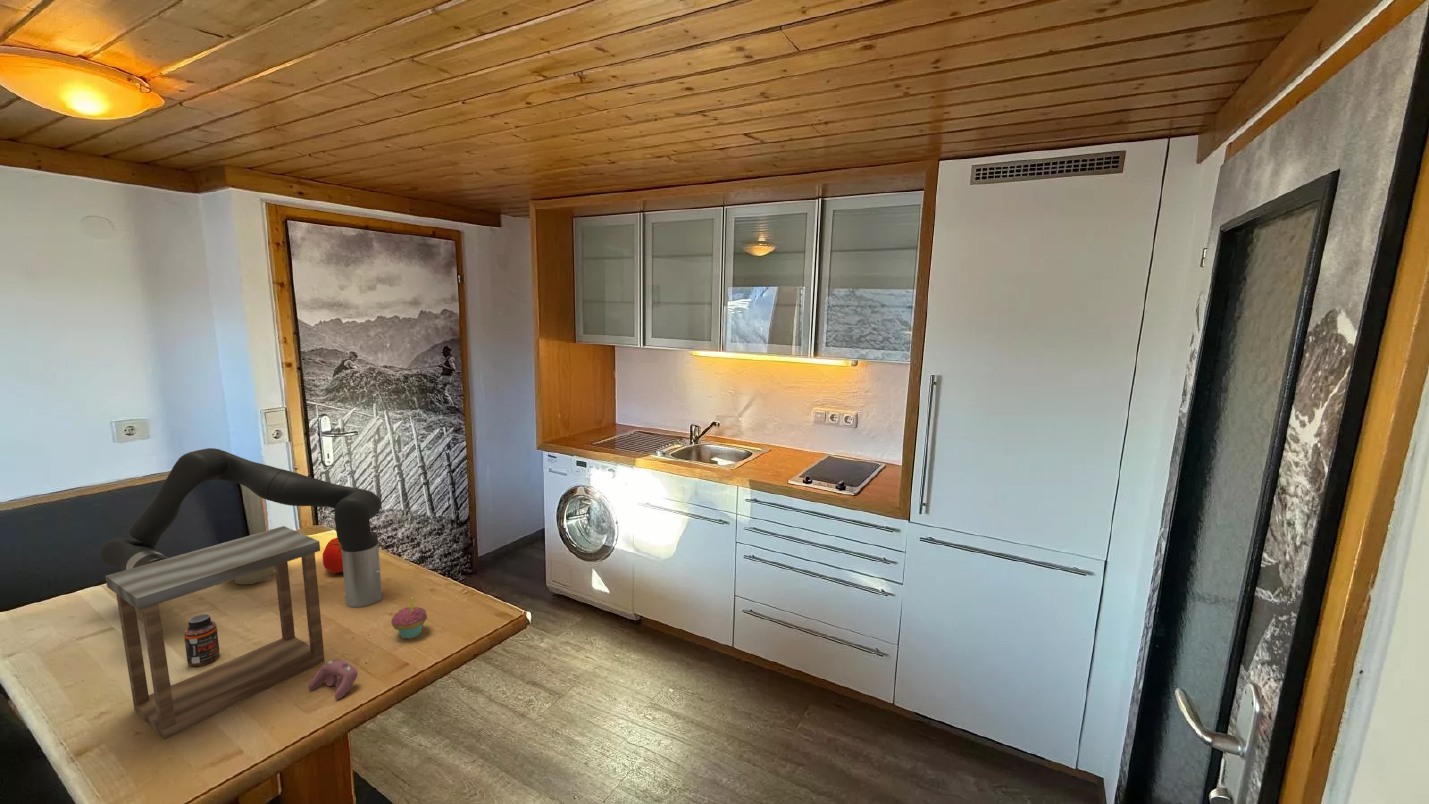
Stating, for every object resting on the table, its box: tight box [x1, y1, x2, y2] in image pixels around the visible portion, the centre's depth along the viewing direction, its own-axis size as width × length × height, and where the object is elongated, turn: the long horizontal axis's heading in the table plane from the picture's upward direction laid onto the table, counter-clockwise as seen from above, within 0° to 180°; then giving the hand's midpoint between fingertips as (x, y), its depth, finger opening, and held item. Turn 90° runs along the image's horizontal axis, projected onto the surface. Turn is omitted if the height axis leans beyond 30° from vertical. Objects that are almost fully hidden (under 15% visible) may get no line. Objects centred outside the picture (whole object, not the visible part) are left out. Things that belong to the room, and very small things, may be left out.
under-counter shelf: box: [105, 525, 326, 740], centre depth 128 cm, size 17×32×32 cm, turn 151°
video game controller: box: [308, 659, 359, 700], centre depth 130 cm, size 10×5×7 cm, turn 71°
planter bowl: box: [234, 566, 275, 585], centre depth 179 cm, size 16×16×11 cm
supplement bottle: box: [183, 613, 220, 667], centre depth 138 cm, size 6×6×11 cm
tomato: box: [322, 537, 343, 574], centre depth 187 cm, size 14×13×10 cm
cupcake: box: [390, 594, 428, 639], centre depth 152 cm, size 9×8×12 cm
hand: (176, 584), depth 142 cm, fingers open, 8 cm apart
